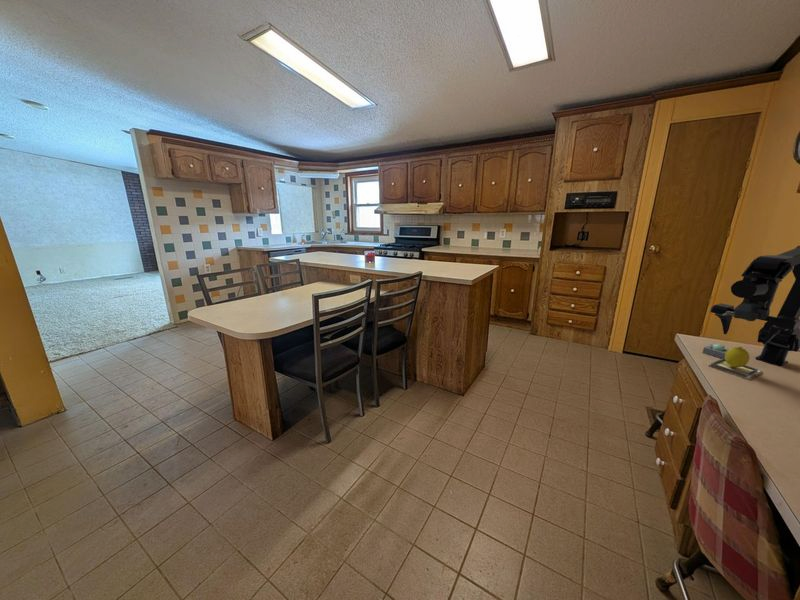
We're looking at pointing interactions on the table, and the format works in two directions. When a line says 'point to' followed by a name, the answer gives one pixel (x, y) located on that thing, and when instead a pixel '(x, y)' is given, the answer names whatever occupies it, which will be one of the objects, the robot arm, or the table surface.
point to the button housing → (714, 352)
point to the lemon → (737, 357)
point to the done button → (718, 347)
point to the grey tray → (736, 369)
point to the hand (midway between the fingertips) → (743, 339)
